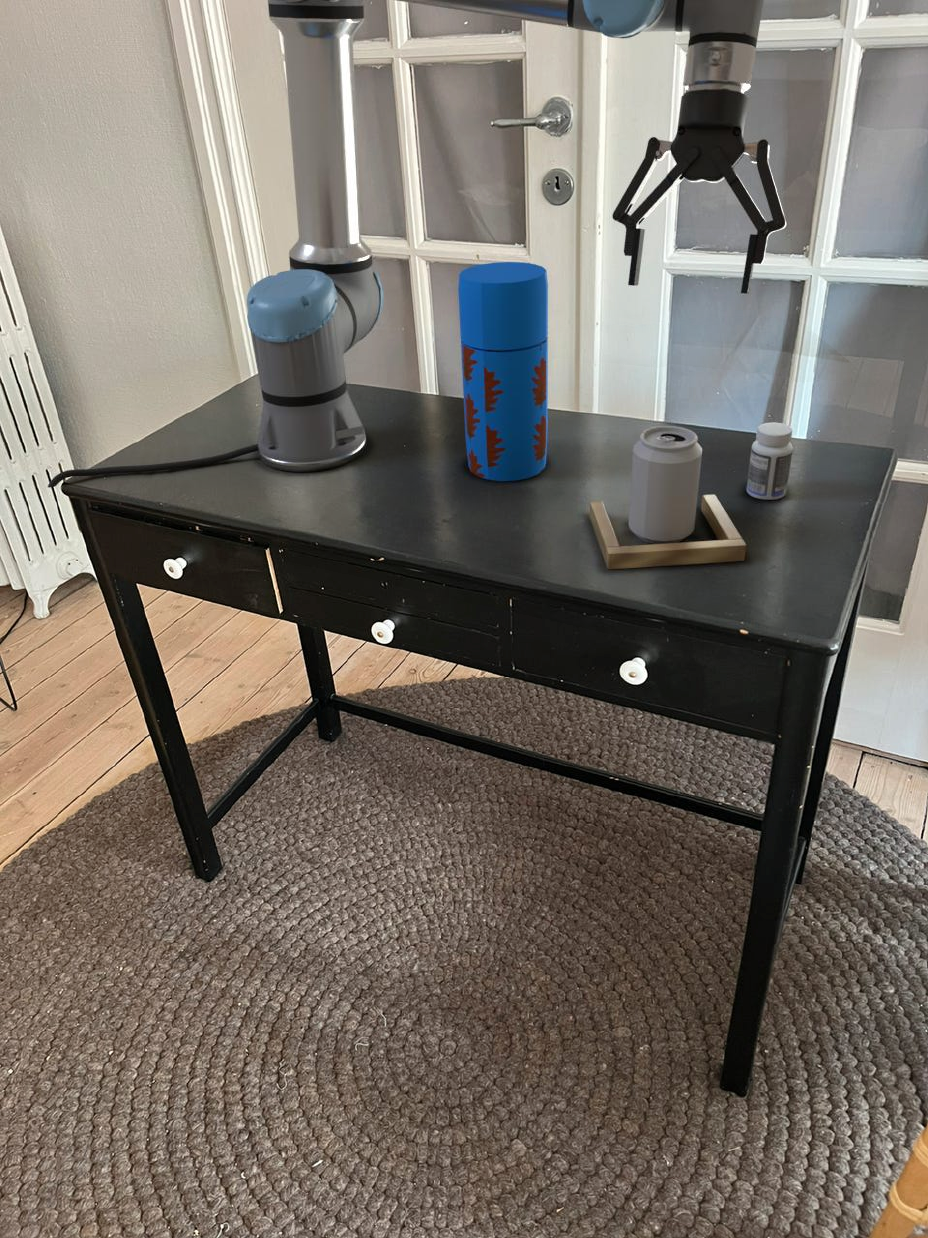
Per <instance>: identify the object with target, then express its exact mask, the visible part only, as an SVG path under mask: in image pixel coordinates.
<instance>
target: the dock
mask: <svg viewBox="0 0 928 1238" xmlns="http://www.w3.org/2000/svg"><path fill="white" fill-rule="evenodd" d="M700 507H701V508H700V511H701V512H702V515H703V516H704V518H705V519H706V521H707V523H708V525H709V526H710V528H711V530H712V531H713V533H714V535H715V537H716V538H717V539H715V540H704V541H701V540H700V541H686V542H684V541H683V542H676V543H669V544H654V543H652V544H640V545H639V544H638V545H624V546H622V545H621V546H620V544H619V541H618V539H617V535H616V533H615V531H614V528H613V526H612V523H611V520H610V518H609V516H608V513H607V510H606V508H605V505H604V502H603V501H590V502H589V520H590V523H591V525H592V528H593V531H594V534H595V537H596V539H597V542H598V546H599V548H600V551H601V554H602V557H603V559H604V563H605V565H606V568H607V570H622V569H635V568H636V569H637V568H651V567H669V566H683V565H685V566H686V565H700V564H716V563H730V562H731V563H732V562H744V561H745V557H746V552H747V551H746V550H747V544H746V542H745V541H744V539H743V537H742V536H741V534H740V533H739V531H738V529H737V528H736V525H734V523H733V521H732V520H731V517H730V516H729V515H728V513H727V511H726V510H725V509H724V507H723V506H722V504H721V502H720V501H719V499H718V497H717V496H716V494H703V495H702V499H701V505H700Z"/></svg>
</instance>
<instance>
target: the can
mask: <svg viewBox="0 0 928 1238" xmlns="http://www.w3.org/2000/svg"><path fill="white" fill-rule="evenodd" d="M698 440H699V436H698V435H697V434H696V432H694V431H692V430H691V429H689V428H685V427H681V426H677V425H657V426H652V427H649V428H646V429H645V430H643V431H642V432H641V433H640V434H639V440H638V441H637V442H636V443H635V444H634V445H633V448H632V461H631V476H630V492H629V493H630V495H629V509H628V510H629V511H628V527H629V529H630V531H631V532H632V533H633V534H634V535H636V536H637V538H638V539H640V540H642V541H643V542H646V543H650V544H669V543H680V542H681V541H683V540H684V539H685V538H687V537H689V536H690V535H691V534H693V532H694V531H695V524H696V514H697V513H696V512H697V506H698V505H697V504H698V496H699V494H698V493H699V486H700V476H701V466H702V459H703V448H702V446H701V445H700V444H699V443H698Z"/></svg>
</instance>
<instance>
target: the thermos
mask: <svg viewBox="0 0 928 1238" xmlns="http://www.w3.org/2000/svg"><path fill="white" fill-rule="evenodd" d="M457 291H458V310H459V311H458V313H459V331H460V348H461V350H460V351H461V352H460V353H461V370H462V371H461V372H462V393H463V409H464V410H463V413H464V431H465V432H464V433H465V446H466V455H467V456H466V457H467V464H468V465H467V466H468V468H469V471H470V473H472V474H473V475H475V476H477V477H479V478H483V479H484V480H485V479H486V480H489V481H497V482H517V481H520V480H524V479H525V480H526V479H530V478H532V477H534V476H537V475H539V474H540V473H541V472H542V471H544V470H545V468H546V464H547V453H548V452H547V450H548V423H549V421H548V419H549V418H548V415H549V414H548V410H549V409H548V408H549V407H548V406H549V405H548V404H549V403H548V400H549V398H548V397H549V396H548V394H549V393H548V392H549V391H548V388H549V336H548V335H549V281H548V273H547V269H546V268H545V267H543V266H541V265H538V264H535V263H530V262H521V261H520V262H519V261H499V262H498V261H497V262H490V263H489V262H488V263H481V264H476V265H472V266H469V267H466V268H464V269H462V270H461V271H460V272H459V274H458V288H457Z"/></svg>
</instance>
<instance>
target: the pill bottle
mask: <svg viewBox="0 0 928 1238" xmlns="http://www.w3.org/2000/svg"><path fill="white" fill-rule="evenodd" d="M755 435H756V436H755V441H753V442H752V445H751V449H750V457H749V465H748V466H749V467H748V472H747V473H748V474H747V479H746V480H747V481H746V482H747V483H746V493H747V494H748V495H749V496H751V497H752V498H755V499H759V500H762V501H763V500H764V501H765V500H766V501H775V500H778V499H782V498H784V497H785V495H786V494H787V489H788V483H789V475H790V470H791V463H792V456H793V451H794V448H793V444H792V443H791V442H792V436H793V428H792V427H791V426H790V425H788V424H786V423H781V422H775V421H774V422H765V423H762V424H760V425H758V427H757V428H756V434H755Z"/></svg>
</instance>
